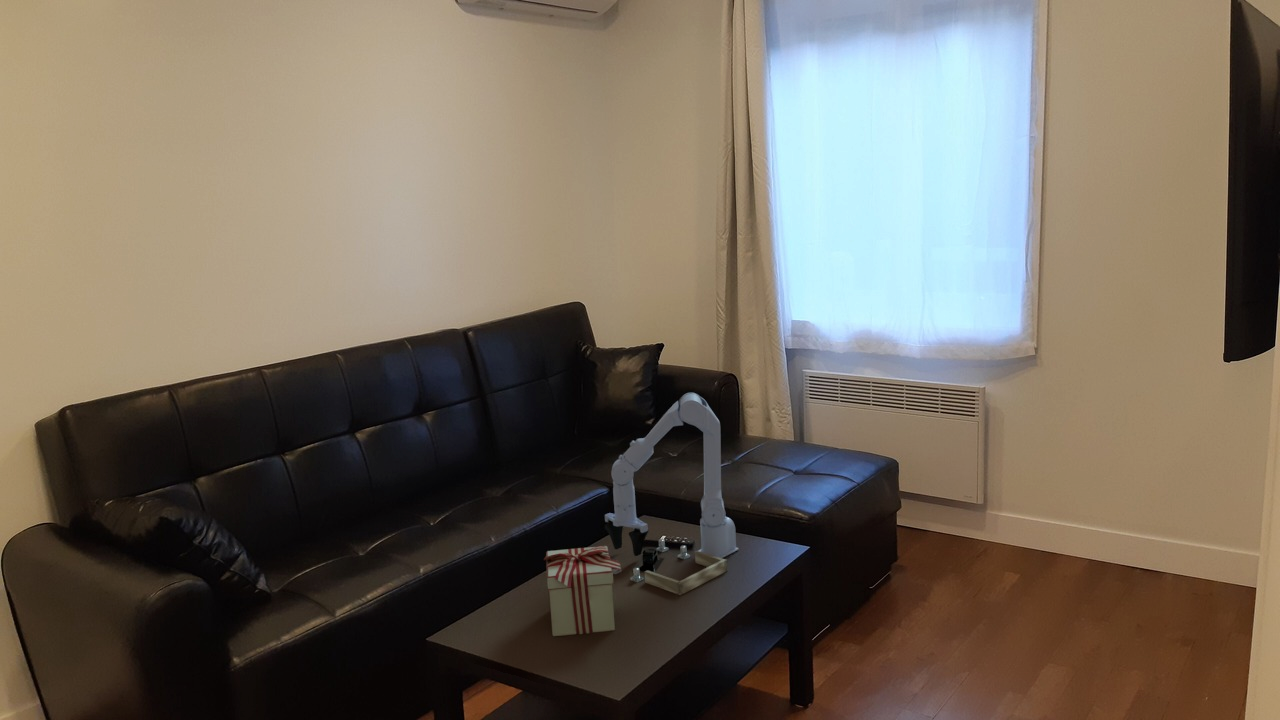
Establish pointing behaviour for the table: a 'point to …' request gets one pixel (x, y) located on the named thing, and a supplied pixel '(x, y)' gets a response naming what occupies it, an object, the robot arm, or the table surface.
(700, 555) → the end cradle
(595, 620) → the gift box
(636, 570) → the guide pins
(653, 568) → the black boxy piece
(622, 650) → the table surface
